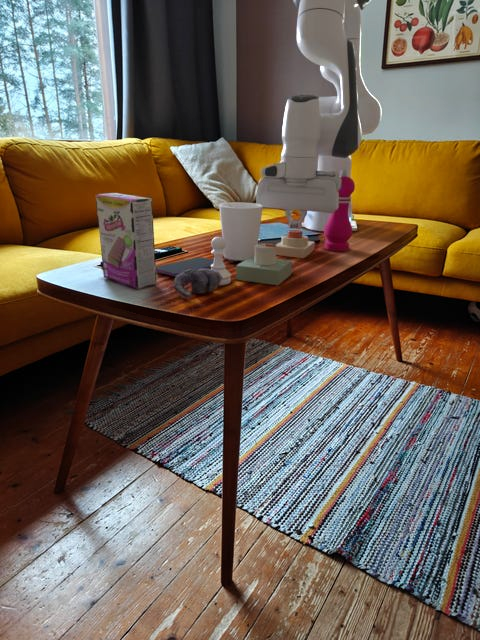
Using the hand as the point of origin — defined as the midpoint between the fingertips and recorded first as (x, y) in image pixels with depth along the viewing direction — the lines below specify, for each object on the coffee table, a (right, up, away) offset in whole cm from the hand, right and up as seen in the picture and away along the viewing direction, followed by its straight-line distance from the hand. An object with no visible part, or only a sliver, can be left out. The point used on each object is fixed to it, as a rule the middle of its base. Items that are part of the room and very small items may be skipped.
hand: (295, 228), depth 112 cm
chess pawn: (-18, -16, -23) cm, 33 cm away
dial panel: (-9, -14, -19) cm, 25 cm away
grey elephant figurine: (-21, -18, -30) cm, 41 cm away
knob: (-9, -11, -20) cm, 25 cm away
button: (0, -2, +1) cm, 3 cm away
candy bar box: (-36, -16, -24) cm, 45 cm away
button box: (0, -6, +2) cm, 6 cm away
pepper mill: (+12, -4, +7) cm, 14 cm away
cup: (-14, -9, -6) cm, 18 cm away
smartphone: (-25, -12, -14) cm, 31 cm away
